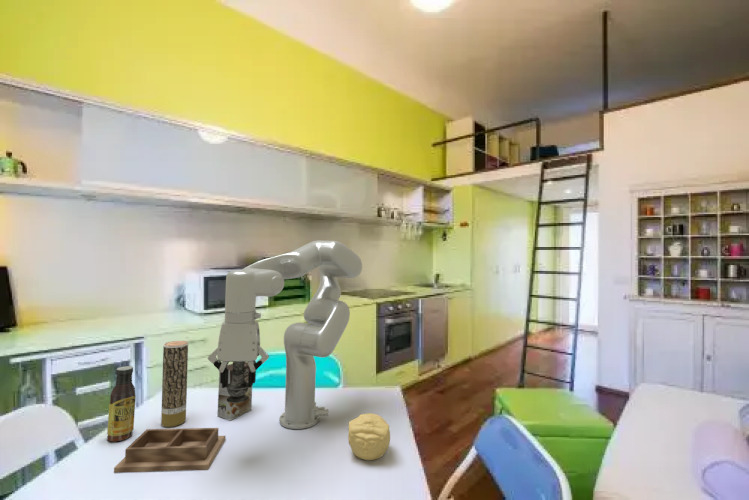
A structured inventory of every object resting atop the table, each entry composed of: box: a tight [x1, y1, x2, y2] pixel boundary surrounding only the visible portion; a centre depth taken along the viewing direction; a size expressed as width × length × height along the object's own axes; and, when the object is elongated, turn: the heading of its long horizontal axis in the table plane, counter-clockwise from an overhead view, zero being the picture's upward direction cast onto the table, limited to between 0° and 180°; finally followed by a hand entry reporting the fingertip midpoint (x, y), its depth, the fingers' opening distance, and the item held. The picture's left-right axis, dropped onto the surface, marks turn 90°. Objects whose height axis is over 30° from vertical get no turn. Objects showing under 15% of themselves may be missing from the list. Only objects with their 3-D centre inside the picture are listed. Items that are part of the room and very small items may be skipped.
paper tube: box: [160, 340, 189, 428], centre depth 112 cm, size 7×7×25 cm
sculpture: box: [347, 412, 391, 461], centre depth 98 cm, size 11×12×11 cm
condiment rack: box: [113, 427, 226, 473], centre depth 95 cm, size 22×14×4 cm, turn 96°
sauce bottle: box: [106, 365, 137, 443], centre depth 103 cm, size 7×6×20 cm
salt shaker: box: [226, 362, 248, 403], centre depth 94 cm, size 6×6×12 cm
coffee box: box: [216, 362, 253, 421], centre depth 120 cm, size 9×6×16 cm
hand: (237, 385), depth 94 cm, fingers closed on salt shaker, 5 cm apart
